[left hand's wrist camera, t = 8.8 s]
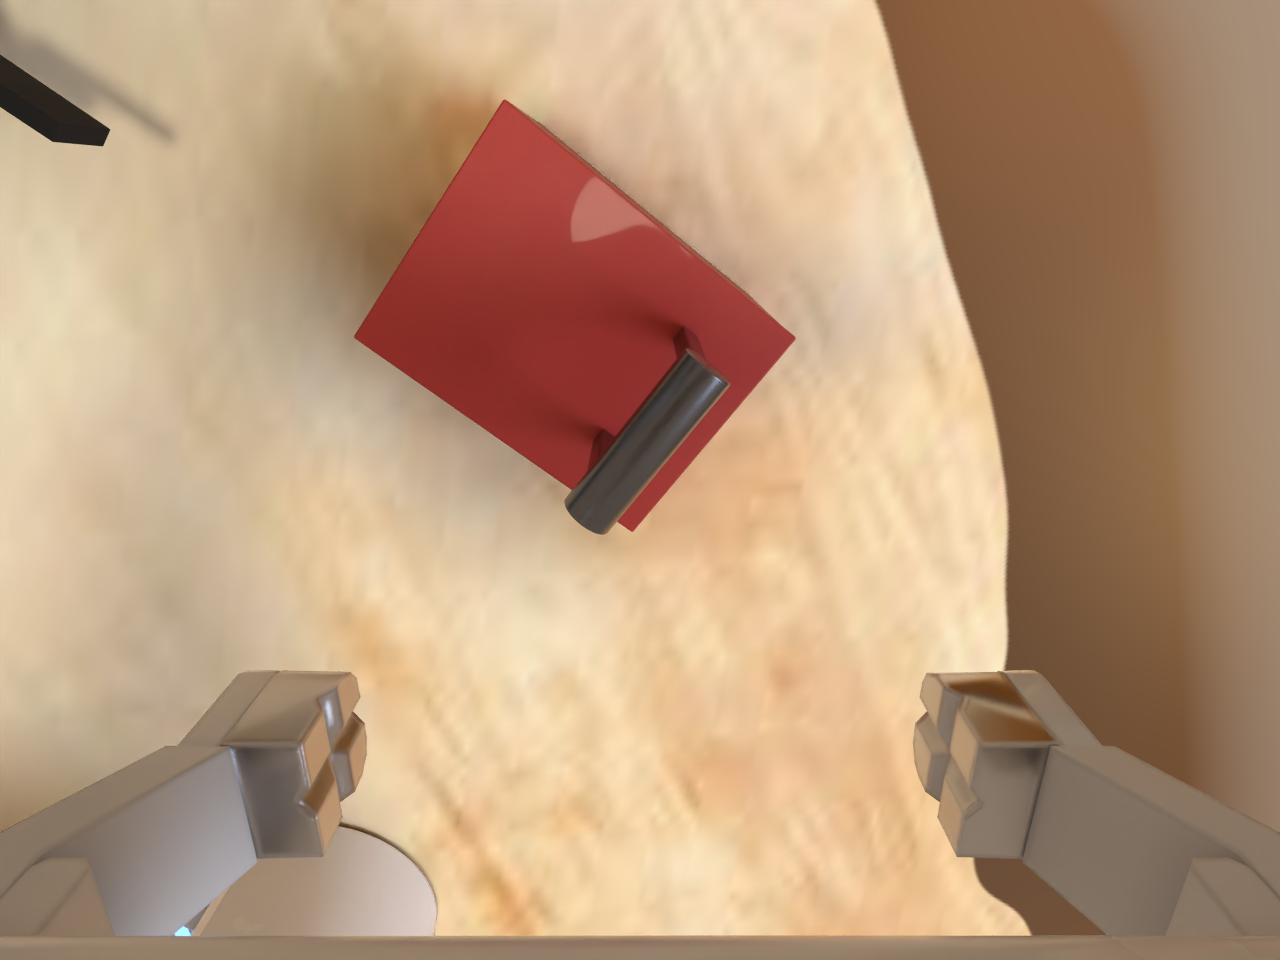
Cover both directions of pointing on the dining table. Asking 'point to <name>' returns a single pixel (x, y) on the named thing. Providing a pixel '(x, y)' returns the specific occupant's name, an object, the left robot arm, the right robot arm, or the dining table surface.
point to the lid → (570, 324)
